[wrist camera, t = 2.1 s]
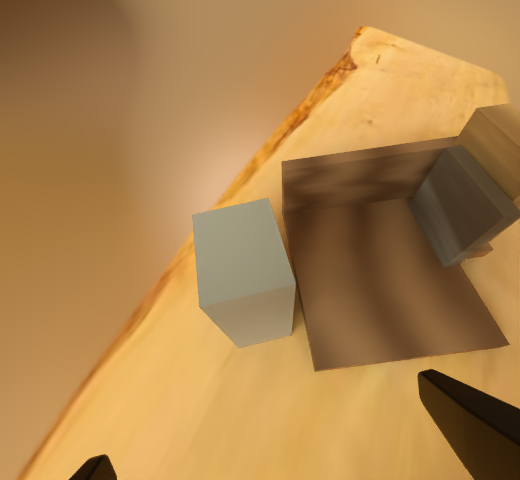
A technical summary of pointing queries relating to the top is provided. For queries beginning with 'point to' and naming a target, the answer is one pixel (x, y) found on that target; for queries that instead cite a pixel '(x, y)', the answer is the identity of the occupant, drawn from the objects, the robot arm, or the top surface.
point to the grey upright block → (244, 273)
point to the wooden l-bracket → (401, 242)
